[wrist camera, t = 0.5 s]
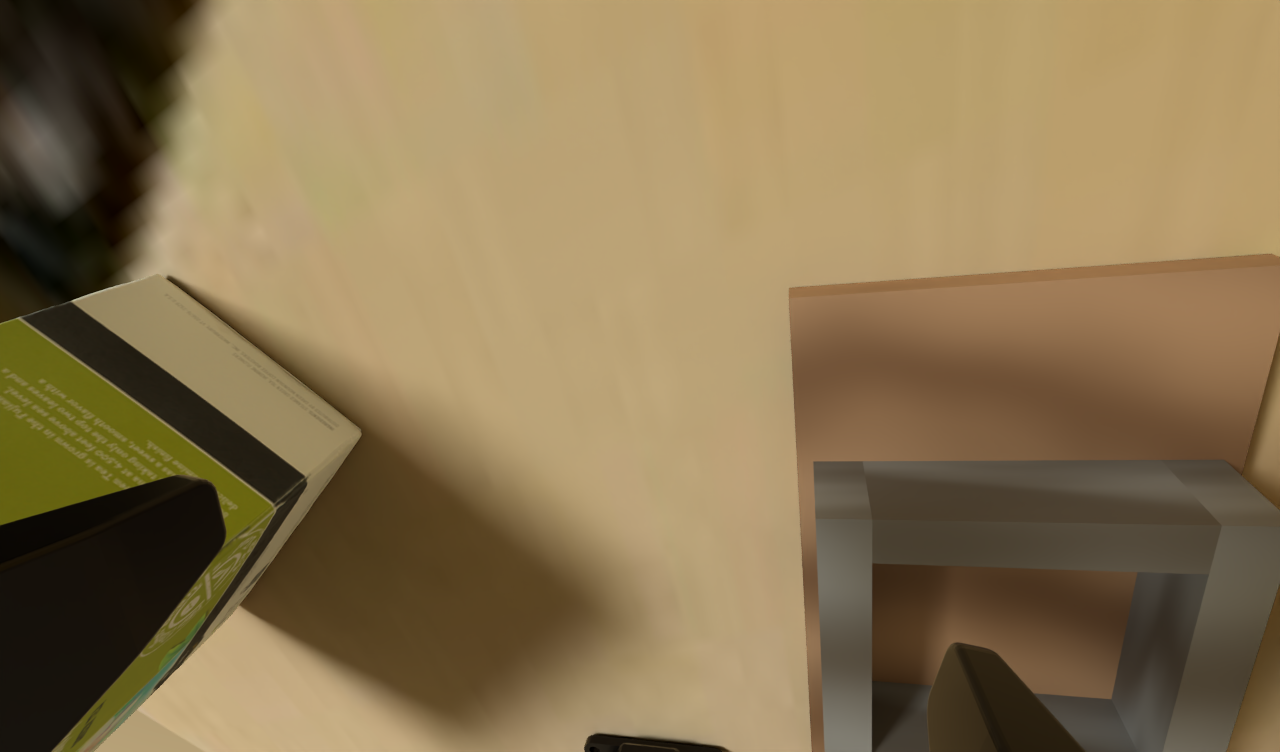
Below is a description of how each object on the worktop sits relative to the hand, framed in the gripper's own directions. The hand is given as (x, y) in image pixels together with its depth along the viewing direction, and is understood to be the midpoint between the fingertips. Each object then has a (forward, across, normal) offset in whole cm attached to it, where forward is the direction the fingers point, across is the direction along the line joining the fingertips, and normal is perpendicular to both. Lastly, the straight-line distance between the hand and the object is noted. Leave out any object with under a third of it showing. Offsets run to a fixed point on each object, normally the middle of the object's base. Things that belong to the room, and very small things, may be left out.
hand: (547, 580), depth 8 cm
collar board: (+14, -11, +10) cm, 20 cm away
